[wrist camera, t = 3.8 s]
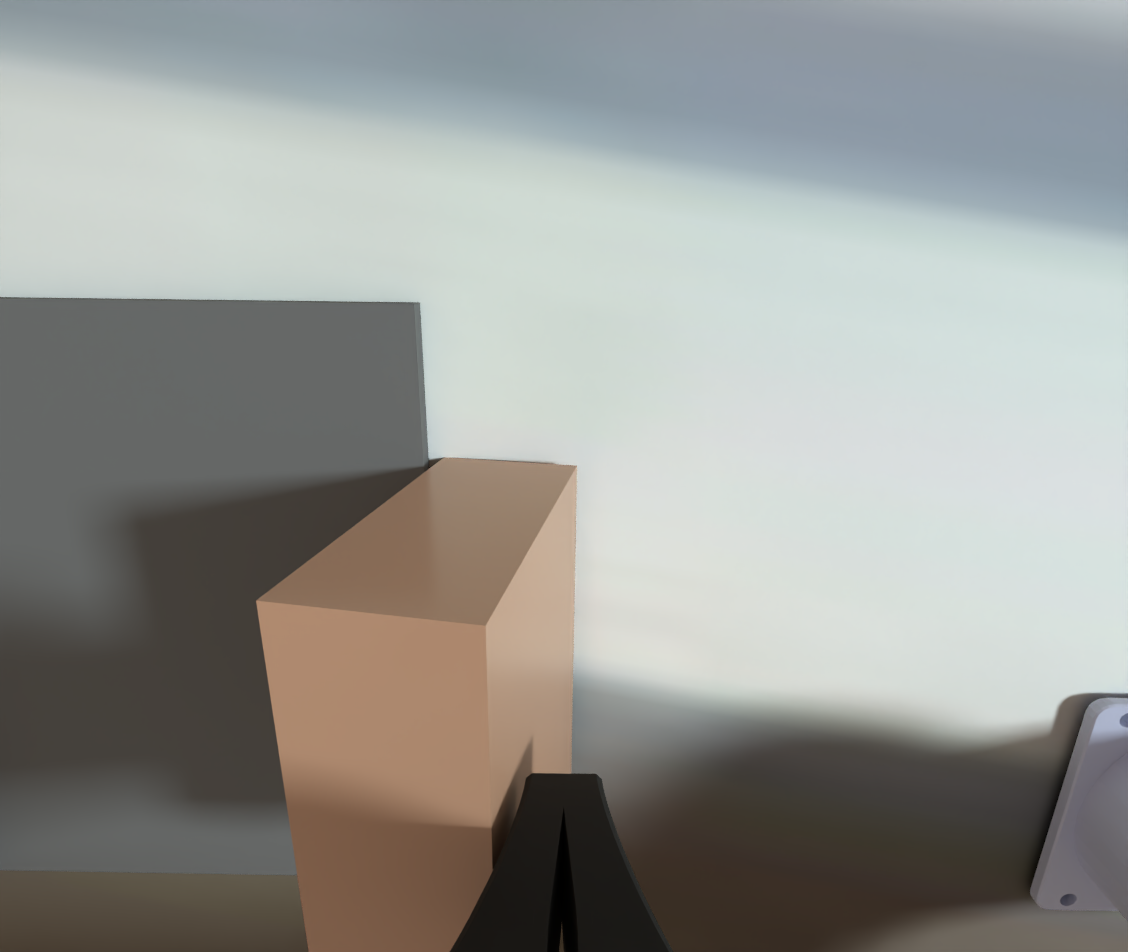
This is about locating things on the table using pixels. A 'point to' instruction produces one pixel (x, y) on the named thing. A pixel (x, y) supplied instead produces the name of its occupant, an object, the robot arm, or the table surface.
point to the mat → (174, 557)
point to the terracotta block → (422, 697)
